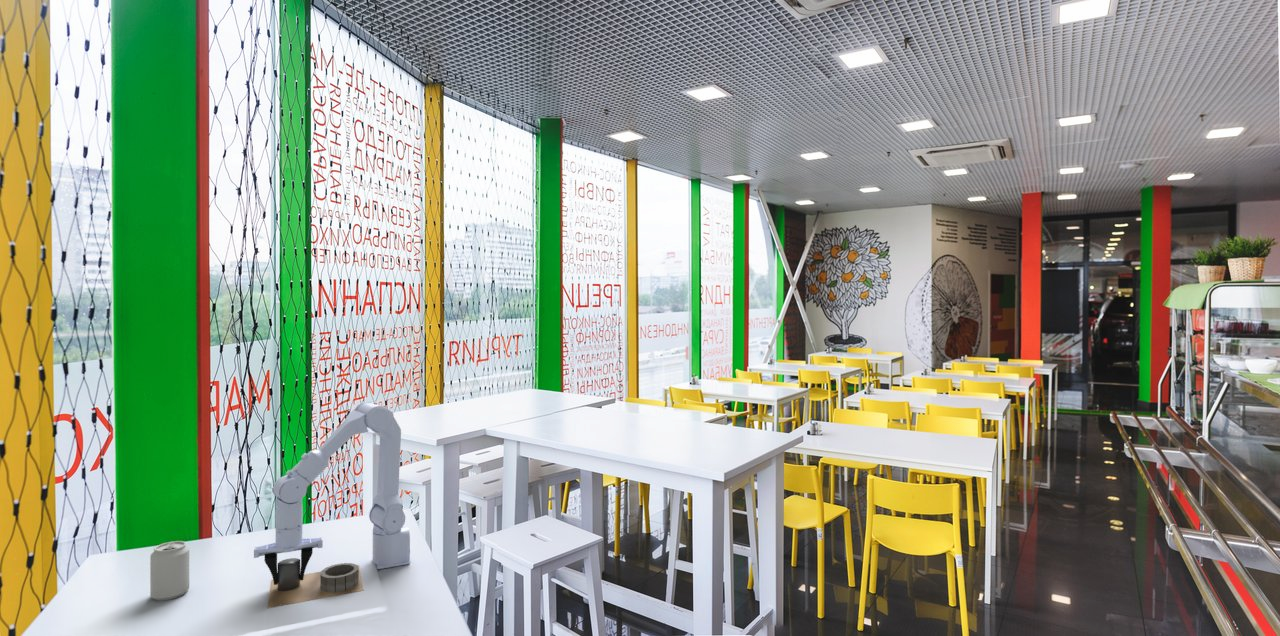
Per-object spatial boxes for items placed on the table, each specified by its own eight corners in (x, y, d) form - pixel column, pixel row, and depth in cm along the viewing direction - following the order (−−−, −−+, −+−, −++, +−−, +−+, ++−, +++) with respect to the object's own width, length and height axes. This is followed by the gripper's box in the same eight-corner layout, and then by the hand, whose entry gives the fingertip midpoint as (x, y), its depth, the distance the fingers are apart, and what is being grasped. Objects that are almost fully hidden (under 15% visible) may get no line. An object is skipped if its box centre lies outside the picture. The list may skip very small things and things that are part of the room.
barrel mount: (358, 568, 164) (359, 552, 164) (363, 594, 150) (363, 575, 150) (271, 583, 154) (271, 566, 154) (267, 612, 140) (267, 592, 140)
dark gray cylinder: (300, 580, 154) (300, 556, 154) (299, 588, 150) (300, 564, 150) (278, 584, 152) (278, 560, 152) (277, 592, 148) (277, 567, 147)
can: (146, 604, 143) (146, 553, 143) (154, 591, 150) (154, 542, 149) (186, 598, 146) (186, 548, 146) (192, 585, 153) (192, 537, 153)
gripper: (252, 536, 144) (252, 593, 144) (322, 526, 150) (322, 581, 151) (255, 526, 150) (255, 581, 150) (322, 517, 157) (322, 570, 157)
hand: (288, 580), depth 151 cm, fingers open, 5 cm apart
